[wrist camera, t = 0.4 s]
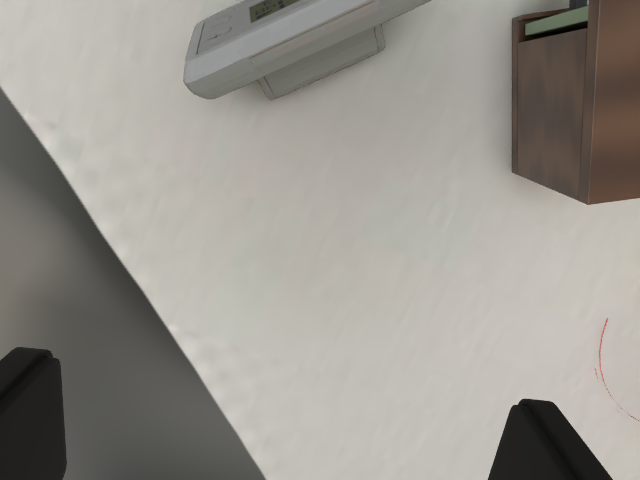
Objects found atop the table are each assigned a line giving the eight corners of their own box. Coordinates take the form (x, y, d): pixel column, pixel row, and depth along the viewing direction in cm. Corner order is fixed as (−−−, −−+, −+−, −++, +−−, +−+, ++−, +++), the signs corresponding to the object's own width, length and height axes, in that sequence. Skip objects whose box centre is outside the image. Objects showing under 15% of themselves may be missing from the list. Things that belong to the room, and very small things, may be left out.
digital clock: (402, -64, 32) (443, -133, 22) (418, 68, 35) (460, 61, 25) (183, -15, 33) (125, -59, 23) (216, 111, 36) (178, 120, 26)
